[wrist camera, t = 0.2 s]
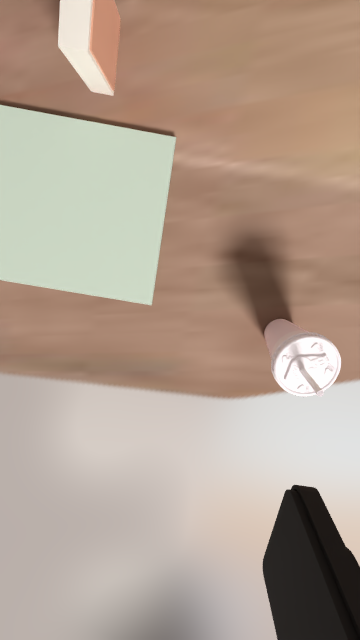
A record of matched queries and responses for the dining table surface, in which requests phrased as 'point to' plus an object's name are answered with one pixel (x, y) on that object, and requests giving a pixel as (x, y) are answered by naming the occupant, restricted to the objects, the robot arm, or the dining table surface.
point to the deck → (91, 41)
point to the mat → (81, 204)
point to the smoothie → (301, 358)
